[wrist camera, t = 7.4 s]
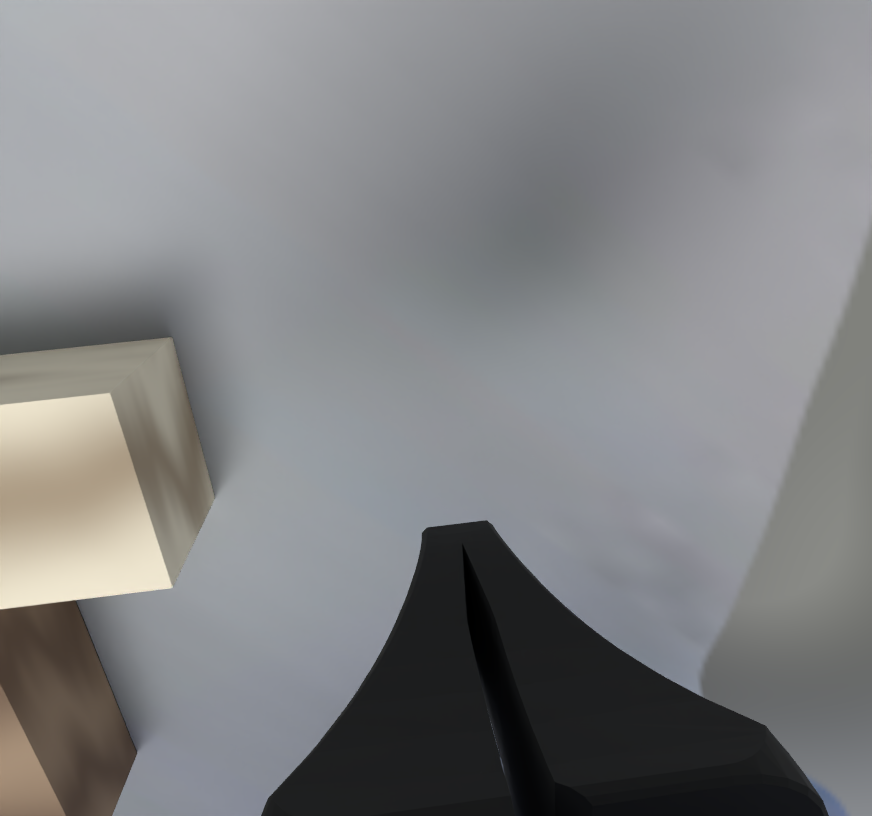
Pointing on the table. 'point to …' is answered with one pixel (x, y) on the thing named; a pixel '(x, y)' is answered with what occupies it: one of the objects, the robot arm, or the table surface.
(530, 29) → the table surface
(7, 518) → the birch block
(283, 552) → the table surface
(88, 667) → the walnut board
